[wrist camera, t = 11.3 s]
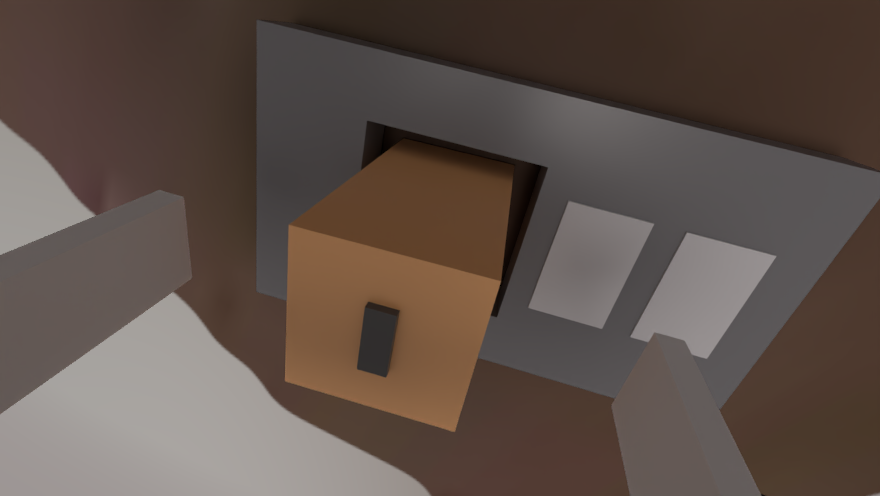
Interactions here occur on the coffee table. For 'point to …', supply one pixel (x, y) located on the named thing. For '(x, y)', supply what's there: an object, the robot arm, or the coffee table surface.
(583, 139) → the power strip
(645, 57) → the coffee table surface
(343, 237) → the charger
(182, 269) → the robot arm
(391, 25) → the coffee table surface
